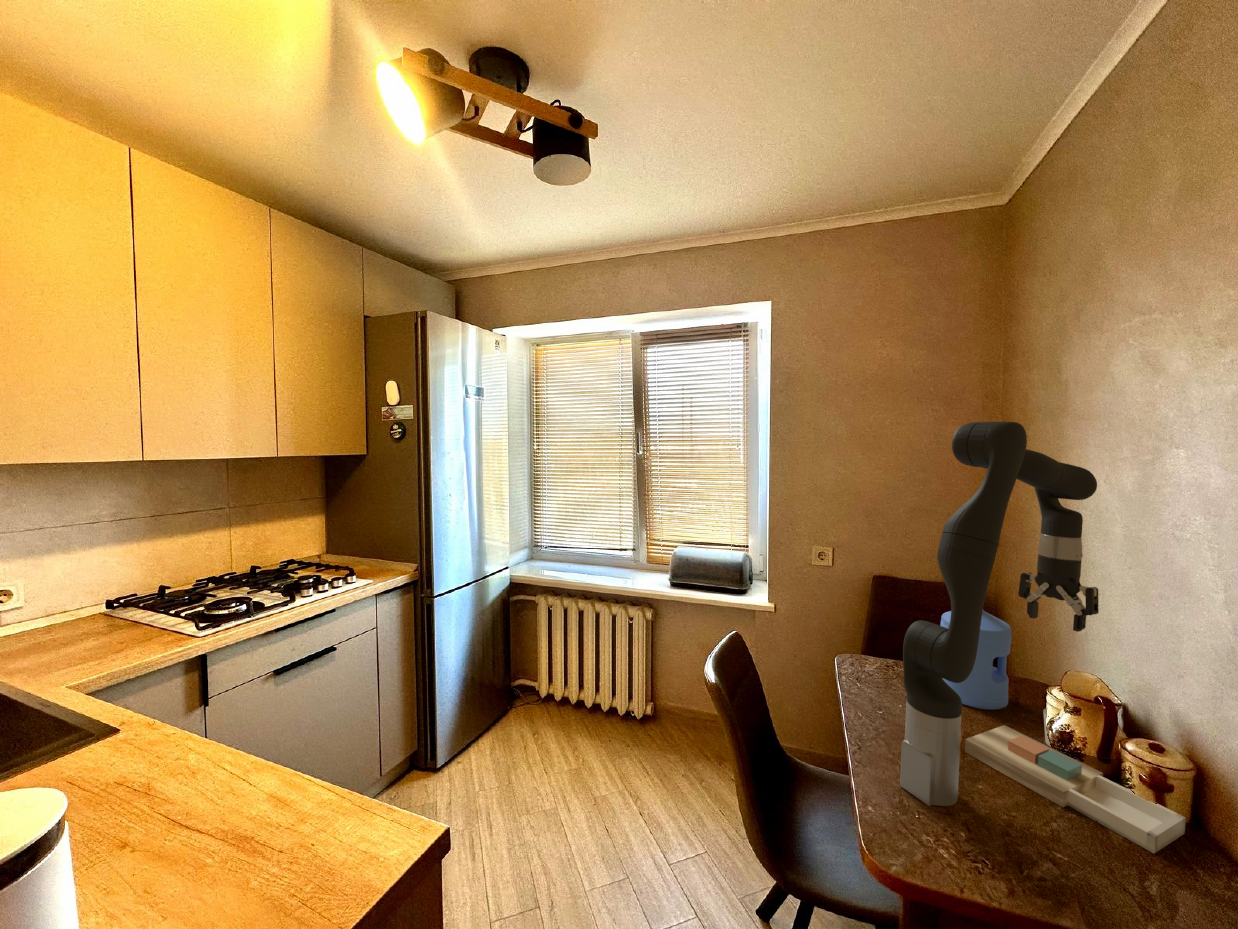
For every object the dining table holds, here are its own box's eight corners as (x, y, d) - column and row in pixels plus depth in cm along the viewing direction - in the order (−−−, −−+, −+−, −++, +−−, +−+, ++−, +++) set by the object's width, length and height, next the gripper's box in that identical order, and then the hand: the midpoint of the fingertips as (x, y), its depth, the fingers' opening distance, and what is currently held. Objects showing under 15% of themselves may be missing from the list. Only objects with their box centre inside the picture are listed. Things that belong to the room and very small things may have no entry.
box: (1154, 853, 84) (1155, 836, 84) (1067, 805, 95) (1068, 790, 95) (1184, 833, 88) (1185, 817, 88) (1098, 789, 99) (1099, 775, 99)
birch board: (1062, 807, 94) (1063, 792, 94) (964, 752, 111) (965, 739, 111) (1102, 787, 100) (1103, 773, 100) (1003, 737, 116) (1003, 725, 116)
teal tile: (1067, 781, 97) (1068, 771, 97) (1037, 765, 102) (1038, 756, 102) (1081, 774, 99) (1082, 764, 99) (1051, 759, 104) (1052, 750, 104)
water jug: (944, 703, 131) (949, 599, 130) (932, 677, 146) (936, 583, 144) (1017, 717, 125) (1022, 608, 123) (997, 688, 139) (1002, 590, 138)
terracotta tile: (1034, 764, 102) (1035, 754, 102) (1007, 749, 107) (1008, 740, 107) (1048, 758, 104) (1049, 748, 104) (1021, 744, 109) (1022, 735, 109)
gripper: (1014, 549, 119) (1010, 615, 120) (1089, 563, 106) (1084, 638, 107) (1033, 547, 122) (1029, 612, 123) (1108, 560, 109) (1103, 633, 110)
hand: (1054, 624), depth 115 cm, fingers open, 8 cm apart
